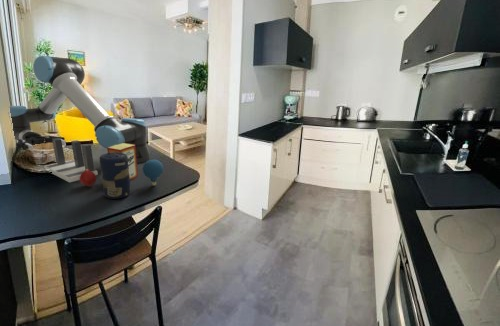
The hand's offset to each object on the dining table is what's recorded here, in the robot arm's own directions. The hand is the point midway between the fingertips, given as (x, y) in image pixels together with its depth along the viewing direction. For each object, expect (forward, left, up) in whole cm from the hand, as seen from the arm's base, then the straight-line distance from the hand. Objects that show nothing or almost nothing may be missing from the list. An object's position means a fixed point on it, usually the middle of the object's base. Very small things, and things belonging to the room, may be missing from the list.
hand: (49, 145), depth 123 cm
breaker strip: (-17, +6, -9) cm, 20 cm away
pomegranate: (-36, +16, -10) cm, 41 cm away
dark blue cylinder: (-52, +19, -10) cm, 56 cm away
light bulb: (-60, +6, -10) cm, 61 cm away
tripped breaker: (-9, +3, -7) cm, 11 cm away
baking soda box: (-44, +4, -10) cm, 45 cm away
